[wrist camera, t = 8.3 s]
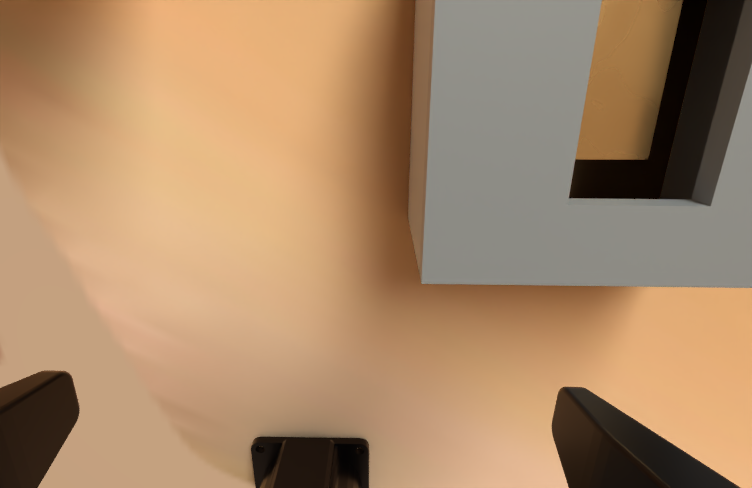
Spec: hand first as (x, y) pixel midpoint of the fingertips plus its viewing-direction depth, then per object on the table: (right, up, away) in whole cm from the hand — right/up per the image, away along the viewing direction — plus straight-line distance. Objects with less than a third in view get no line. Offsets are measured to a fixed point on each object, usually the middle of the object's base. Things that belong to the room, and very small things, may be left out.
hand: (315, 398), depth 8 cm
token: (+9, +10, +10) cm, 16 cm away
